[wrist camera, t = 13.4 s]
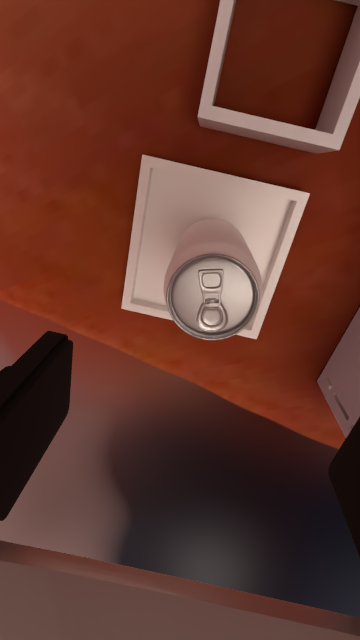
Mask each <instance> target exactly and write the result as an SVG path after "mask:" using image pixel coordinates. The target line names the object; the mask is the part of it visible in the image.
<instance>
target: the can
mask: <svg viewBox="0 0 360 640" xmlns="http://www.w3.org/2000/svg"><path fill="white" fill-rule="evenodd" d="M163 291H164V298H165V302H166V305H167V307H168V311H169V313H170V315H171V317H172V319H173V321H174V322H175V323H176V324H177V326H178V327H179V328H181V329H182V330H183V331H184V332H186V333H187V334H189V335H191V336H193V337H196V338H199V339H204V340H221V339H226V338H229V337H232V336H234V335H236V334H238V333H239V332H241V331H242V330H243V329H245V328H246V327H247V326H248V325H249V323H250V322H251V321H252V319H253V318H254V316H255V314H256V312H257V309H258V306H259V303H260V300H261V296H262V279H261V274H260V271H259V269H258V266H257V264H256V262H255V260H254V258H253V255H252V253H251V251H250V249H249V248H248V246H247V244H246V242H245V240H244V238H243V236H242V235H241V233H240V232H239V231H238V229H237V228H236V227H234V226H233V225H232V224H230V223H228V222H226V221H224V220H220V219H205V220H202V221H199V222H197V223H195V224H193V225H192V226H191V227H189V228H188V229H187V230H186V231H185V233H184V234H183V236H182V237H181V239H180V241H179V243H178V245H177V248H176V250H175V252H174V254H173V257H172V259H171V261H170V264H169V266H168V268H167V271H166V274H165V278H164V286H163Z"/></svg>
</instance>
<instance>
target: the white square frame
mask: <svg viewBox="0 0 360 640" xmlns="http://www.w3.org/2000/svg"><path fill="white" fill-rule="evenodd" d="M336 1H340V2H344V3H348V4H352V5H357V6H358V7H357V10H356V13H355V16H354V18H353V21H352V24H351V27H350V30H349V33H348V36H347V39H346V42H345V45H344V47H343V50H342V53H341V56H340V59H339V62H338V65H337V68H336V71H335V74H334V77H333V79H332V82H331V85H330V88H329V91H328V94H327V97H326V100H325V103H324V106H323V109H322V111H321V114H320V117H319V120H318V123H317V126H316V129H315V130H313V129H309V128H304V127H300V126H296V125H292V124H287V123H283V122H279V121H275V120H270V119H266V118H262V117H258V116H253V115H249V114H245V113H240V112H236V111H232V110H228V109H223V108H219V107H215V106H214V103H215V99H216V94H217V89H218V85H219V80H220V75H221V71H222V66H223V61H224V57H225V52H226V47H227V43H228V38H229V33H230V29H231V24H232V19H233V14H234V10H235V5H236V0H220V5H219V10H218V15H217V20H216V25H215V30H214V35H213V40H212V45H211V51H210V56H209V61H208V66H207V71H206V76H205V81H204V86H203V91H202V96H201V101H200V107H199V112H198V121H199V126H200V127H204V128H209V129H213V130H217V131H221V132H226V133H230V134H234V135H239V136H243V137H247V138H251V139H256V140H260V141H264V142H268V143H273V144H277V145H281V146H286V147H290V148H294V149H298V150H303V151H307V152H311V153H315V154H319V153H325V152H331V151H337V150H340V147H341V145H342V142H343V140H344V137H345V134H346V132H347V129H348V126H349V124H350V121H351V119H352V116H353V113H354V111H355V108H356V106H357V103H358V100H359V98H360V0H336Z"/></svg>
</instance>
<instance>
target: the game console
mask: <svg viewBox="0 0 360 640" xmlns="http://www.w3.org/2000/svg"><path fill="white" fill-rule="evenodd" d="M317 383H318V385H319V387H320V388H321V390H322V392H323V394H324V397H325V399H326V401H327V403H328V404H329V406H330V408H331V410H332V412H333V414H334V416H335V418H336V420H337V422H338V424H339V426H340V428H341V430H342V432H343V434H344V436H345V438H347V436H348V435H349V433H350V431H351V430H352V428H353V426H354V425H355V423H356V422H357V420H358V418H359V417H360V307H359V309H358V311H357V313H356V314H355V316H354V318H353V319H352V321H351V323H350V325H349V326H348V328H347V330H346V332H345V333H344V335H343V337H342V339H341V340H340V342H339V344H338V346H337V347H336V349H335V351H334V352H333V354H332V356H331V358H330V359H329V361H328V363H327V365H326V366H325V368H324V370H323V372H322V373H321V375H320V377H319V378H318V380H317Z"/></svg>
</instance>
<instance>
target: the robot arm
mask: <svg viewBox="0 0 360 640" xmlns="http://www.w3.org/2000/svg"><path fill="white" fill-rule="evenodd" d="M72 353H73V342H72V341H70V340H68V336H67V335H65V334H60V333H56V332H52V331H47V332H46V333H45V334H44V335H43V336H42V337H41V338H40V339H39V340H38V341H37V342H36V343H35V344H33V345H32V346H31V347H30V348H29V349H28V350H27V351H26V352H25V353H24V354H23V355H22V356H21V357H20V358H19V359H18V360H17V361H16V362H15V363H14V364H13V365H12V366H8V367H5V368H4V369H2V370H1V371H0V520H1V521H3V520H4V519H5V518H6V517H7V515H8V514H9V512H10V510H11V509H12V507H13V505H14V504H15V502H16V500H17V499H18V497H19V495H20V494H21V492H22V490H23V489H24V487H25V485H26V484H27V482H28V480H29V478H30V477H31V475H32V473H33V472H34V470H35V468H36V467H37V465H38V463H39V462H40V460H41V458H42V456H43V455H44V453H45V451H46V450H47V448H48V446H49V445H50V443H51V441H52V440H53V438H54V436H55V435H56V433H57V431H58V429H59V428H60V426H61V424H62V423H63V421H64V419H65V417H66V416H67V413H68V410H69V402H70V386H71V370H72ZM329 478H330V480H331V483H332V485H333V488H334V491H335V493H336V496H337V498H338V501H339V504H340V506H341V509H342V512H343V514H344V517H345V519H346V522H347V524H348V527H349V530H350V533H351V535H352V538H353V540H354V543H355V546H356V548H357V551H358V553H359V556H360V417H359V418H358V420H357V422H356V423H355V425H354V426H353V428H352V430H351V431H350V433H349V435H348V436H347V438H346V439H345V441H344V443H343V444H342V446H341V447H340V449H339V451H338V453H337V454H336V456H335V457H334V459H333V460H332V462H331V464H330V466H329ZM0 640H360V618H357V617H353V616H349V615H344V614H340V613H335V612H330V611H326V610H322V609H318V608H313V607H309V606H304V605H300V604H295V603H291V602H286V601H282V600H277V599H273V598H269V597H264V596H260V595H255V594H250V593H246V592H241V591H237V590H232V589H228V588H223V587H218V586H214V585H210V584H205V583H200V582H196V581H192V580H187V579H183V578H178V577H173V576H169V575H164V574H159V573H155V572H150V571H146V570H141V569H137V568H132V567H127V566H122V565H118V564H113V563H109V562H104V561H100V560H95V559H90V558H86V557H81V556H76V555H71V554H66V553H61V552H56V551H51V550H46V549H41V548H35V547H31V546H25V545H20V544H15V543H10V542H5V541H0Z"/></svg>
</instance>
